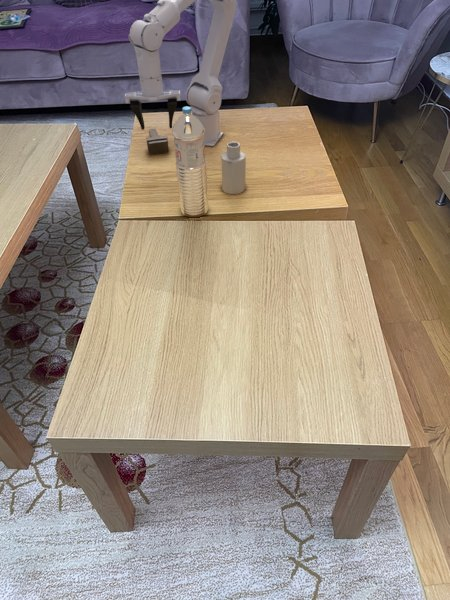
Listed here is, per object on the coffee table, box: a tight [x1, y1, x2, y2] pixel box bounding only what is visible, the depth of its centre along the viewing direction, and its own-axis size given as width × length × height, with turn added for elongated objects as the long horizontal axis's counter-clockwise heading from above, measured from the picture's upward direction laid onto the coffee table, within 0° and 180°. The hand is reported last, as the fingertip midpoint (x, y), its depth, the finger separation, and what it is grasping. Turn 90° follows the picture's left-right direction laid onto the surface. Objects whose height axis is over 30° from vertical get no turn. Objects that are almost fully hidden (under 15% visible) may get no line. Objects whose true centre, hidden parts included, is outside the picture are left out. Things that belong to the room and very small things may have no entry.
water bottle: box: [172, 105, 209, 218], centre depth 102 cm, size 7×7×25 cm
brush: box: [145, 128, 170, 156], centre depth 135 cm, size 6×12×4 cm, turn 15°
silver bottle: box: [220, 141, 247, 195], centre depth 114 cm, size 6×6×12 cm
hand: (157, 127), depth 124 cm, fingers open, 7 cm apart
